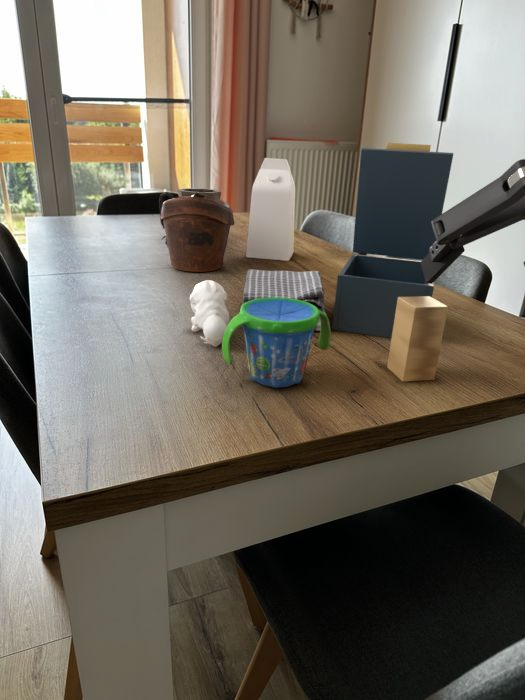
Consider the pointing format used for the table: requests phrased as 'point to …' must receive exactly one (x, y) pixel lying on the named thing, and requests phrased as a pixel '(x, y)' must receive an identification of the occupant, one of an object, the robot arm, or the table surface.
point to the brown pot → (196, 231)
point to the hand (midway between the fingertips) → (479, 272)
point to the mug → (189, 193)
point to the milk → (272, 212)
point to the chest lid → (399, 199)
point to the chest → (375, 293)
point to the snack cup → (277, 338)
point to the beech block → (416, 338)
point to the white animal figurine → (209, 311)
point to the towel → (285, 287)
